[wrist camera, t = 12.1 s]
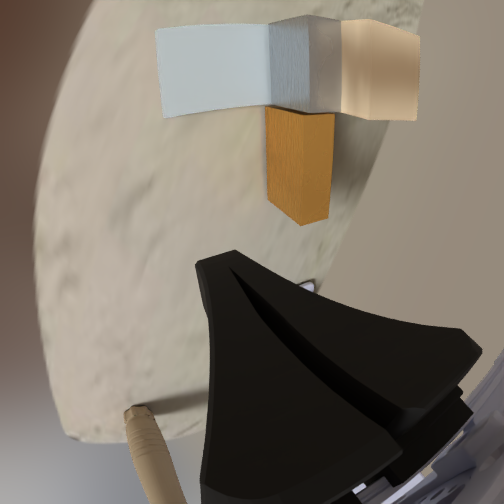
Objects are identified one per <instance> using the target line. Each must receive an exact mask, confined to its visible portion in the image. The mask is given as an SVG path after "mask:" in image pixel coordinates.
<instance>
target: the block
mask: <svg viewBox="0 0 504 504" xmlns="http://www.w3.org/2000/svg"><path fill="white" fill-rule="evenodd" d="M341 39H342V98H341V113H345V114H349V115H353V116H357V117H360V118H364V119H367V120H409V121H416V119H417V108H418V94H419V73H420V37H419V36H417V35H414V34H412V33H409V32H407V31H404V30H401V29H399V28H396V27H393V26H390V25H387V24H384V23H381V22H378V21H375V20H371V19H364V20H349V21H341Z"/></svg>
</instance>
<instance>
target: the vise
mask: <svg viewBox="0 0 504 504" xmlns="http://www.w3.org/2000/svg"><path fill="white" fill-rule="evenodd" d="M155 39H156V52H157V64H158V75H159V85H160V94H161V103H162V111H163V117H164V118H170V117H175V116H181V115H186V114H192V113H198V112H204V111H211V110H218V109H226V108H234V107H243V106H253V105H265V104H271V75H270V49H269V27H268V25H264V24H205V25H190V26H178V27H169V28H161V29H157V30H156V31H155Z"/></svg>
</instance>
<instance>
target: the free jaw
mask: <svg viewBox="0 0 504 504" xmlns="http://www.w3.org/2000/svg"><path fill="white" fill-rule="evenodd" d="M268 27H269V49H270V75H271V105H276V106H265V120H266V153H267V194H268V200H269V201H270V202H271V203H272V204H274V205H275V206H276V207H277V208H279V209H280V210H281V211H283V212H284V213H285V214H286V215H287V216H289V217H290V218H291V219H292V220H294V221H295V222H296V223H297V224H299V225H300V226H303V225H306V224H310V223H313V222H317V221H320V220H323V219H327V218H328V214H329V202H330V190H331V177H332V162H333V144H334V120H335V114H333V113H329V112H341V98H342V39H341V21H339V20H335V19H330V18H324V17H319V16H313V15H304V16H299V17H294V18H290V19H286V20H281V21H277V22H274V23H270V24H268Z"/></svg>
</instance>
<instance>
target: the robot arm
mask: <svg viewBox="0 0 504 504" xmlns="http://www.w3.org/2000/svg"><path fill="white" fill-rule="evenodd" d="M195 268H196V273H197V278H198V283H199V288H200V292H201V297H202V302H203V306H204V309H205V312H206V314H207V317H208V323H209V339H210V377H209V400H208V411H207V423H206V434H205V443H204V450H203V457H202V465H201V473H200V488H201V504H504V349H503V350H502V352H501V353H500V355H499V356H498V357H497V359H496V360H495V362H494V365H493V366H492V367H491V369H490V370H489V371H488V373H487V374H486V375H485V377H484V378H483V379H482V380H481V382H480V383H479V384H478V385H477V387H476V388H475V389H474V390H473V391H472V393H471V394H470V395H469V396H468V397H467V398H466V399H465V401H463V400H462V399H461V398H460V396H461V395H462V394H463V391H462V389H461V388H460V387H459V386H458V384H459V382H460V381H461V380H462V379H463V378H464V376H465V375H466V374H467V373H468V372H469V370H470V369H471V368H472V367H473V365H474V364H475V363H476V361H477V360H478V359H479V357H480V356H481V354H482V348H481V347H480V346H479V345H478V344H477V343H476V342H475V341H474V340H472V339H471V338H470V337H469V336H468V335H467V334H466V333H465V332H464V331H463V330H462V329H458V328H447V327H437V326H428V325H421V324H415V323H409V322H404V321H399V320H395V319H390V318H386V317H382V316H379V315H375V314H371V313H368V312H364V311H361V310H358V309H354V308H352V307H349V306H346V305H343V304H341V303H338V302H335V301H333V300H330V299H327V298H325V297H322V296H320V295H318V294H316V293H314V292H313V291H314V284H313V283H312V282H307V283H304V284H302V285H297V284H295V283H293V282H291V281H289V280H287V279H285V278H283V277H281V276H279V275H278V274H276V273H274V272H272V271H270V270H269V269H267V268H265V267H263V266H262V265H260V264H258V263H257V262H255V261H253V260H252V259H250V258H248V257H247V256H245V255H243V254H242V253H240V252H238V251H237V250H232V251H229V252H225V253H222V254H219V255H216V256H212V257H209V258H206V259H202V260H199V261H197V263H196V264H195ZM462 430H463V431H464V433H463V435H462V436H460V437H459V438H458V439H457V440H455V441H454V442H453V443H452V444H450V443H451V442H452V441H453V440H454V439H455V438H456V437H457V435H458V434H459V433H460V432H461V431H462ZM449 444H450V445H449ZM448 445H449V446H448ZM447 446H448V447H447ZM446 447H447V448H446ZM445 448H446V449H445ZM444 449H445V450H444ZM443 450H444V451H443ZM442 451H443V452H442ZM441 452H442V453H441ZM440 453H441V454H440ZM439 454H440V455H439ZM438 455H439V456H438ZM437 456H438V457H437ZM436 457H437V459H436V460H435V461H434V462H433V464H432V465H431V468H432V469H433V470H434V471H433V472H431V473H430V474H429V475H428V476H427V477H424V476H423V475H422V473H421V471H422V470H423V469H424V468H425V467H427V466H428V465H429V464H430V463H431V462H432V461H433V460H434V459H435V458H436Z"/></svg>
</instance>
